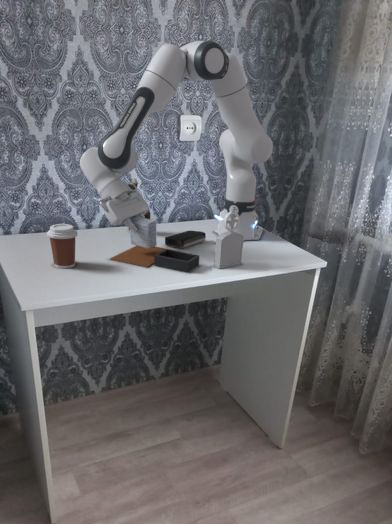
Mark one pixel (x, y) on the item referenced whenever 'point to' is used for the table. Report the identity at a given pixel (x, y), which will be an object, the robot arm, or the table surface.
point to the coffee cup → (63, 244)
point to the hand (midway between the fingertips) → (141, 229)
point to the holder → (176, 260)
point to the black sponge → (185, 239)
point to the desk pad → (138, 256)
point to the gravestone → (229, 243)
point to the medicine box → (144, 232)
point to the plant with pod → (136, 187)
